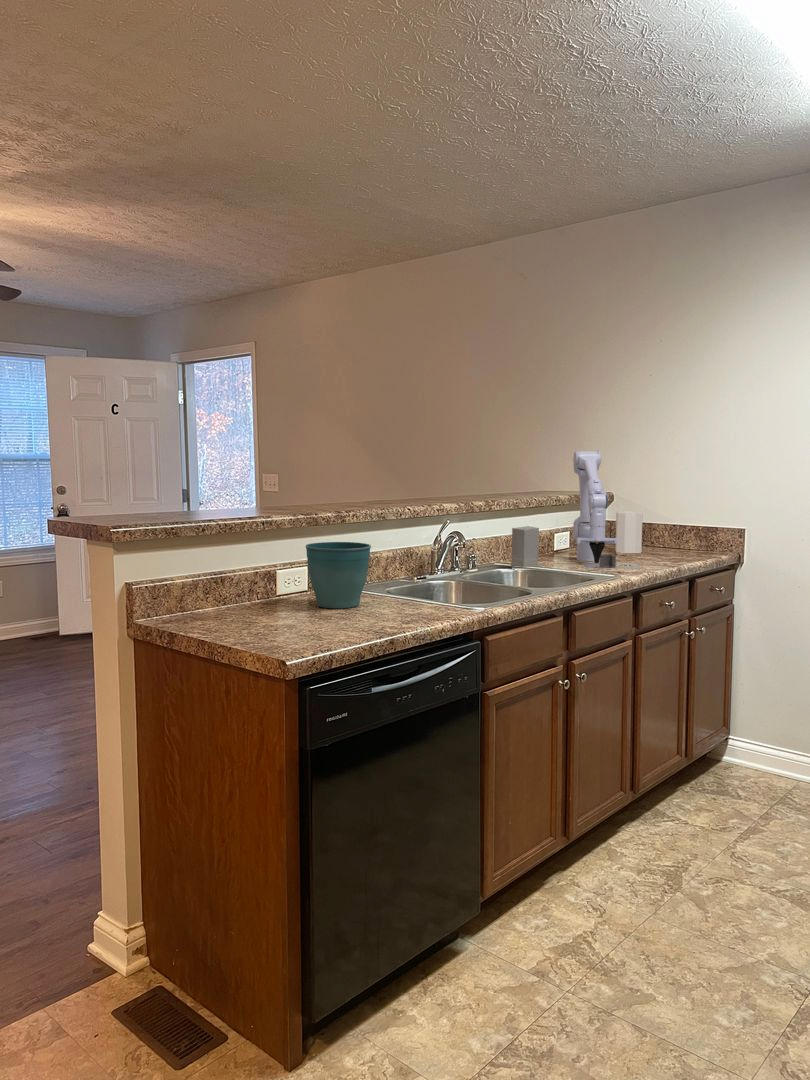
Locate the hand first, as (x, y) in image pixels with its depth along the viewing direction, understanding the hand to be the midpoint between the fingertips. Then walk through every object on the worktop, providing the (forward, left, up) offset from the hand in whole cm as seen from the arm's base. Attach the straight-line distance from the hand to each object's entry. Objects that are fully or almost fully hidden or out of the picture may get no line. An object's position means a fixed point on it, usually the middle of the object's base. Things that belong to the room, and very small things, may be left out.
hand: (596, 562), depth 298 cm
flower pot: (+82, -82, -3) cm, 116 cm away
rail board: (0, +6, -2) cm, 6 cm away
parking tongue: (-5, -10, -2) cm, 12 cm away
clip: (0, +4, -1) cm, 4 cm away
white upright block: (-49, +21, -3) cm, 53 cm away
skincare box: (+2, -26, -3) cm, 27 cm away
